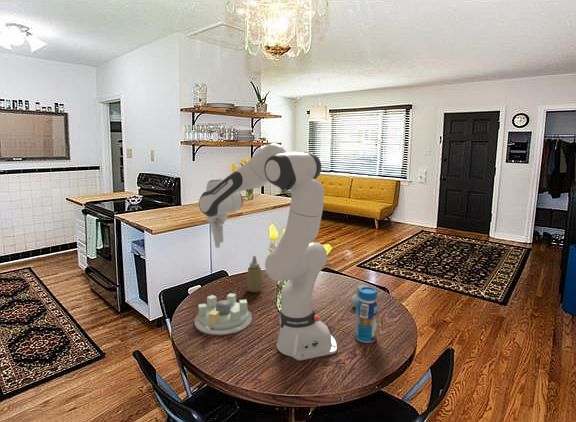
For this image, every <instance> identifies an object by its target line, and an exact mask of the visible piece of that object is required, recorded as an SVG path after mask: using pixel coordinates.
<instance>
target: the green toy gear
mask: <svg viewBox="0 0 576 422" xmlns="http://www.w3.org/2000/svg"><path fill="white" fill-rule="evenodd" d="M217 298H218V297H217V296H216V295H213V294H211V295H208V296H207V297H206V303H198V314H197V315H198V320H199V323H200V324H201V325H202V326H204V327H206V326H207V325H208V326H212V329H216V330H223V329H230V328H234V327H237V326H239V325H241V324H243V323H244V322H245V321H246V320H247V318H248V311H249V310H248V301H247V299H239V302H237V294H236V293H232V292H231V293H230V292H229V294H227V295H226V299H224V300H219V301H217V300H218V299H217Z"/></svg>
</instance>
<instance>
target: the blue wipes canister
mask: <svg viewBox="0 0 576 422" xmlns="http://www.w3.org/2000/svg"><path fill="white" fill-rule="evenodd" d="M377 297H378V291H377V289H375V288H374V287H372V286H371V287H370V286H369V287H362V288H360V289H359V298H360V299H359V300H358V302H357V304H356V307H357V308H356V309H355V326H354V338H355V339H356V340H357V341H358V342H361V343H365V344H366V343H367V344H371V343H373V342H375V341H376V338H377V326H378V325H377V324H378V317H379V312H378V310H379V305H378V303H377V301H376V300H377V299H378V298H377Z"/></svg>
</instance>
